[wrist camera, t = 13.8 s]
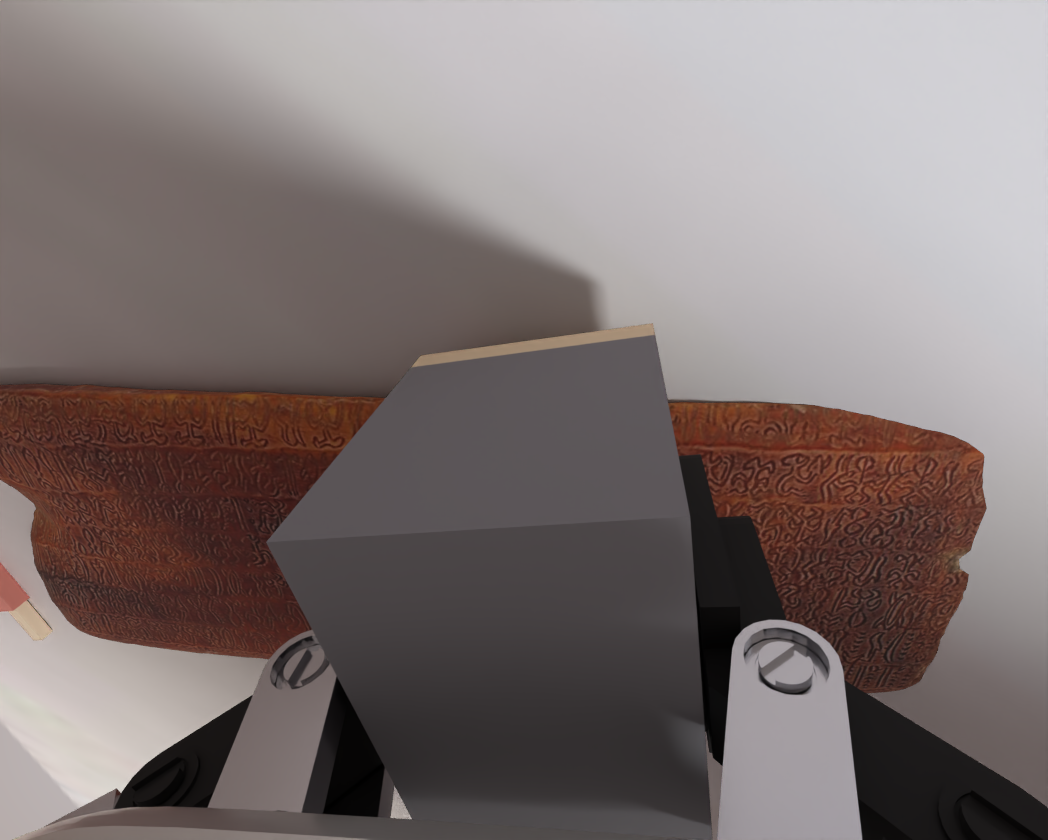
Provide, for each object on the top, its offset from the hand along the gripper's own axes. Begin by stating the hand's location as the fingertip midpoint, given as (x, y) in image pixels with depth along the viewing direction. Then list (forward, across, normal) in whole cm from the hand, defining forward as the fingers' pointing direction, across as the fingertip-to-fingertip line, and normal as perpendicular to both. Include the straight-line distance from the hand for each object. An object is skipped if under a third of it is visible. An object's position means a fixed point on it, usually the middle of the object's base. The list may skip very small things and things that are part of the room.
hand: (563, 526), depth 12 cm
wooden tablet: (+2, +4, +2) cm, 5 cm away
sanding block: (0, 0, 0) cm, 0 cm away
